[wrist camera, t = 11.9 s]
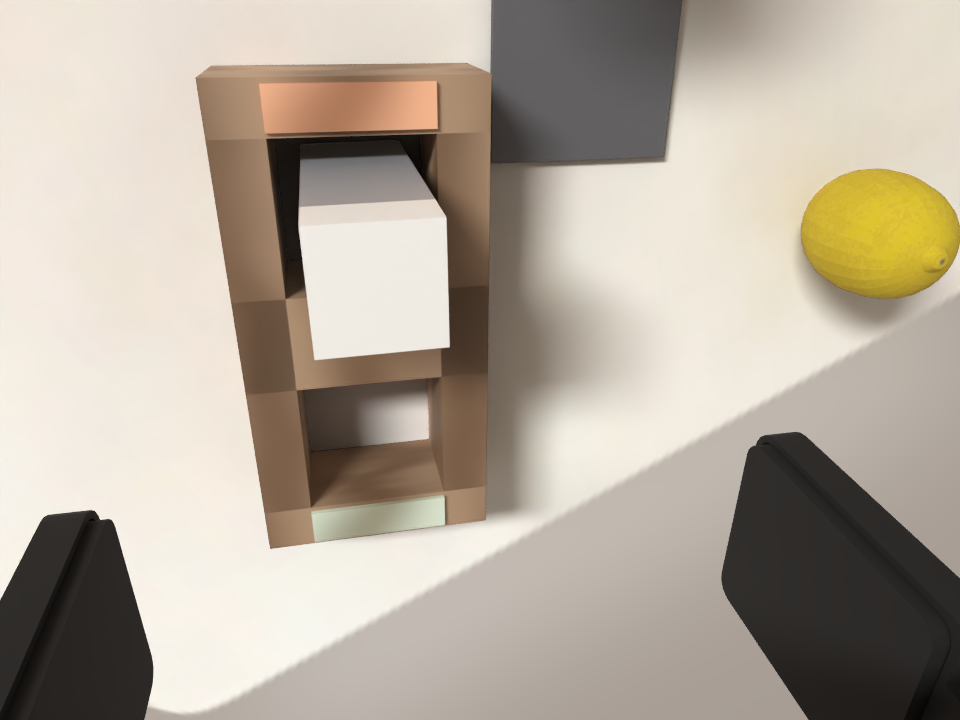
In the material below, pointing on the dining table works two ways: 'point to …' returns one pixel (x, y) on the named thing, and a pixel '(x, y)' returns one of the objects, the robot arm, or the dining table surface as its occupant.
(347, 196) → the plug
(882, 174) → the lemon
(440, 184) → the socket block
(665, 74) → the mat
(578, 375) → the dining table surface
